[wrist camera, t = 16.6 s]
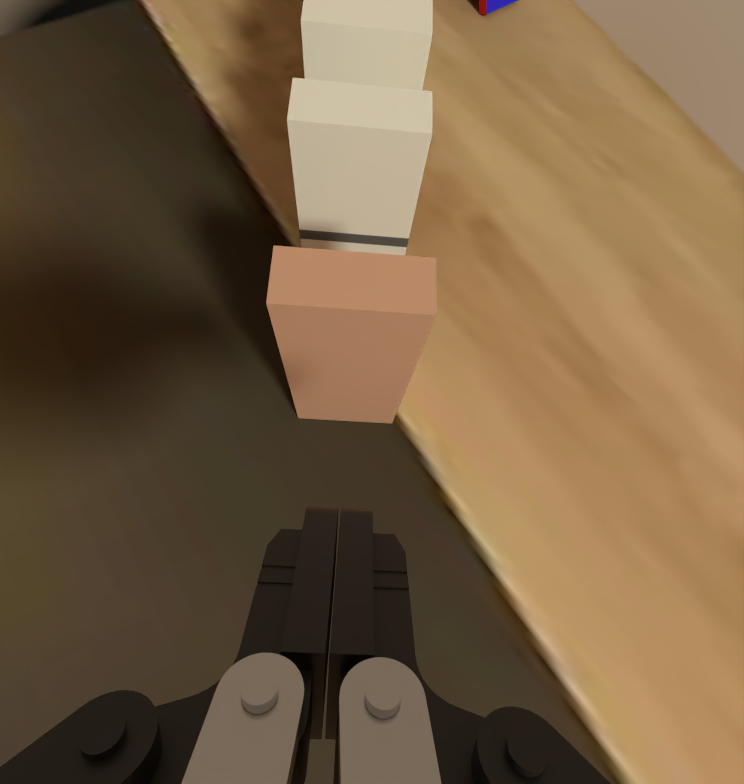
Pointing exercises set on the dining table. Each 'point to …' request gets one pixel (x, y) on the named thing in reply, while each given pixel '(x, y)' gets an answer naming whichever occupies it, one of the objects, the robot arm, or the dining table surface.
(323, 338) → the domino
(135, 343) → the dining table surface
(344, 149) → the domino
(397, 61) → the domino
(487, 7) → the blue red-paneled block
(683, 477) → the dining table surface
